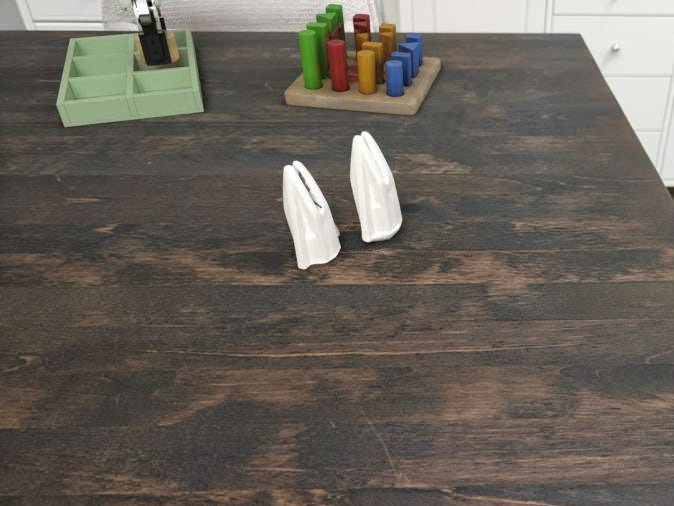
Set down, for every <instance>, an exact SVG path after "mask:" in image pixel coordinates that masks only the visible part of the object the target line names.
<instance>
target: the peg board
mask: <svg viewBox="0 0 674 506" xmlns="http://www.w3.org/2000/svg"><path fill="white" fill-rule="evenodd" d="M324 9H325V13H324V12H323V13H317V14H315V20H316V21H309V22H307V24H306V27H305V28H306V29H301V30H299V31H298V32H297V35H298V43H299V51H300V52H299V53H300V60H301V67H302V72H301V74H300V75H298V77H296V79H295V80H294V81H293V82H292V83H291V84H290V85H289V87H287V89H286V90H285V91H284V94H283V95H284V101H285V104H286V105H287V106H294V107H295V106H297V107H308V108H319V109H321V108H322V109H333V110H344V111H345V110H346V111H355V112H367V113H368V112H369V113H379V114H381V113H382V114H393V115H404V116H405V115H406V116H414V115H415V114H416V113H418V110H419V108H420V107H421V104H422V103H423V101H424V99H426V96H427V94H428V92H429V91H430V89H431V87H432V86H433V83H434V82H435V80H436V78H437V76H438V74H439V72H440V70H441V69H442V67H441V65H442V61H441V58H439V57H433V56H432V57H430V56H423V34H422V33H420V32H419V33H418V32H408V33H406V35H405V42H403V43H402V42H401V43H398V44H397V42H398V41H397V25H396V23H386V22H382V23H381V24H380V25H379V26H378V36H379V42H378V41H372V33H371V32H372V31H371V15H370V14H367V13H355V14H354V15H353V16H352V26H353V36H354V48H355V50H347V41H346V31H345V19H344V11H343V5H342V4H337V3H336V4H335V3H329V4H328V5H326V7H325V8H324ZM397 45H398V46H397Z"/></svg>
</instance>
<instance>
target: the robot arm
mask: <svg viewBox="0 0 674 506" xmlns="http://www.w3.org/2000/svg"><path fill="white" fill-rule="evenodd" d="M117 1H118V6H119V9H120V10H122V11H128V9H129V8H131V7H132V10H133V14H134V19H135V22H136V27H137V31H138V32H137V33H138V36H139V40H140V43H141V47H142V51H143V55H144V58H145V62H146V64H147V65H148V66H155V65H166V64H171V62H172V60H171V56H170V52H169V47H168V43H167V39H166V35H165V31H162V30H168V29H167V26H166V22H165V18H164V17H162V11H161V8H160V7H161V6H162V0H117ZM131 5H132V6H131Z"/></svg>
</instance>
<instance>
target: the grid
mask: <svg viewBox="0 0 674 506" xmlns="http://www.w3.org/2000/svg"><path fill="white" fill-rule="evenodd" d="M168 31H171V32H173V33H174V36H175V40H176V44H177V48H178V52H179V59H178V60H176V61H175V62H172V63H171V64H166V65H155V66H148V65H147V64H144V63H142V62H141V61H140V57H139V53H138V50H137V46H136V42H135V39H134V36H135V35H136V34H138V33H139V32H134V33H121V34H111V35H99V36H87V37H73V38H69V42H68V46H67V52H66V55H65V61H64V66H63V71H62V75H61V79H60V84H59V90H58V94H57V98H56V103H55V106H56V108H57V111H58V114H59V116H60V119H61V122H62V124H63V127H64V128H69V127H78V126H86V125H88V126H89V125H96V124H105V123H106V124H107V123H113V122H115V123H116V122H122V121H123V122H124V121H132V120H141V119H149V118H150V119H151V118H152V119H153V118H159V117H160V118H161V117H168V116H169V117H170V116H178V115H179V116H180V115H188V114H196V113H204V112H205V107H204V102H203V95H202V87H201V80H200V75H199V67H198V61H197V55H196V49H195V43H194V39H193V35H192V30H191V28H183V29H172V30H171V29H170V30H169V29H168Z"/></svg>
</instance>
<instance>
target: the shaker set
mask: <svg viewBox="0 0 674 506" xmlns="http://www.w3.org/2000/svg"><path fill="white" fill-rule="evenodd" d="M351 143H352V145H351V154H350V165H349V167H350V169H349V181H350V185H351V191H352V194H353V199H354V203H355V207H356V211H357V215H358V219H359V223H360V228H361V229H360V230H361V240H362V241H363V242H366V243H372V242H384V241H386V240H387V241H388V240H390V239H391V238H393V237H394V236H395V235H396V234H397V232H398V231H399V230H400V229H401V226H402V223H403V215H402V210H401V206H400V201H399V195H398V192H397V187H396V183H395V178H394V174H393V173H392V170H391V167H390V166H389V164H388V162H387V160H386V158H385V156H384V154H383V152H382V150H381V149H380V147H379V144H378V143H377V142H376V140H375V138H373V136H372V135H371V134H370V132H368V131H362V132H361V133H360V135H354V136H353V138H352V142H351ZM282 201H283V202H282V203H283V212H284V214H285V218H286V221H287V224H288V227H289V231H290V234H291V236H292V240H293V243H294V244H293V245H294V250H295V257H296V262H297V268H298V269H301V270H306V269H308V268H309V267H310V266H311V265H315V264H316V265H322V264H326V263H328V262H330V261H332V260H333V259H335V258H336V257H337V256H338V254H339V252H340V251H341V243H340V240H339V237H340V236H341V234H340V230H339V228H338V226H337V225H336V223H335V222H334V218H333V215H332V212H331V209H330V206H329V204H328V202H327V199H326V197H325V196H324V194H323V192H322V191H321V189H320V187H319V185H318V183H317V182H316V181H315V178H314V177H313V176H312V174H311V173H310V171H309V170H308V169H307V168H306V166H305V165H304V164H303V163H302V162H300V161H299V160H293V161H292V165H290V164H287V165H285V166H284V167H283V173H282Z"/></svg>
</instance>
